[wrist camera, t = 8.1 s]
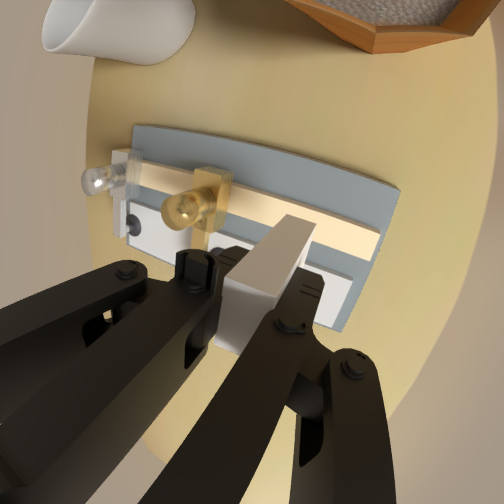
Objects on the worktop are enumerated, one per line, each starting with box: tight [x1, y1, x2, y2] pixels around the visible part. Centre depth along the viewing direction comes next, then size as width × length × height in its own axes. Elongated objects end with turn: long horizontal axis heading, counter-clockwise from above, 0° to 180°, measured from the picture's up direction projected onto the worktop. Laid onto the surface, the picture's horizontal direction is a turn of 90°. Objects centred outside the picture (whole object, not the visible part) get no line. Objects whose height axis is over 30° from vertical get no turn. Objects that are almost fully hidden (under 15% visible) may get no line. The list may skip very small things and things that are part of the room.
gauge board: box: [126, 125, 401, 333], centre depth 22 cm, size 12×22×3 cm, turn 77°
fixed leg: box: [81, 148, 143, 238], centre depth 20 cm, size 8×2×5 cm, turn 167°
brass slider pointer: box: [161, 166, 234, 251], centre depth 18 cm, size 8×2×5 cm, turn 167°
